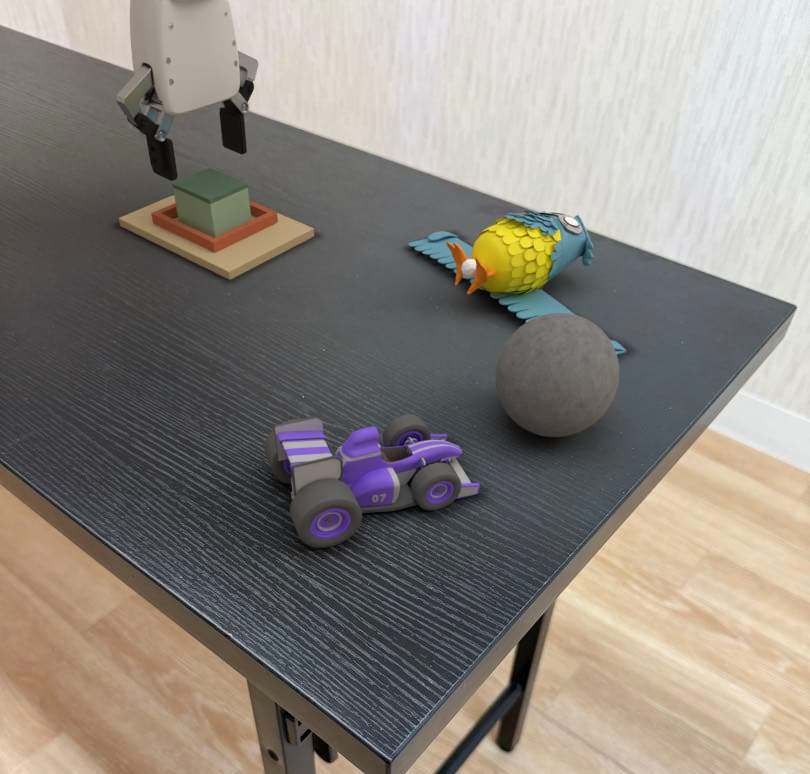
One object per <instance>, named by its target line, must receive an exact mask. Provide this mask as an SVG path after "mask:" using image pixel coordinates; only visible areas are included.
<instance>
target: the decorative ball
mask: <svg viewBox="0 0 810 774" xmlns="http://www.w3.org/2000/svg"><path fill="white" fill-rule="evenodd" d="M574 314H575V313H574ZM574 314H568V313H551V314H546V315H542V316H539V317H537V318H534V317H533V318H534V319H532V320H530V321H528V322H527V323H526V322H525V323H523V324H522V325H521V326H520V327H518V328H517V329H516V330H515V331H514V332H513V333H512V334H511V335H510V336H509V337H508V339H507V340H506V342H505V343H504V345H503V347H502V348H501V351H500V353H499V356H498V357H497V361H496V362H497V363H496V368H495V377H494V379H495V388H496V389H495V390H496V393H497V396H498V400H499V402H500V404H501V406H502V408H503V409H504V411H505V412H506V414H507V415H508V417H509V418H510V419H511V420H512V421H513V422H514V423H516V425H518V426H520V427H521V428H522V429H524V430H525V431H528V432H529V433H532V434H534V435H537V436H540V437H547V438H563V437H570V436H573V435H576V434H578V433H581V432H583V431H584V430H587V429H588V428H590V427H592V426H593V425H594V424H595V423H597V422H598V421H599V420H600V419H602V417H603V416H604V415H605V414H606V412H607V411H608V409H609V408H610V407H611V405H612V404H613V401H614V399H615V397H616V394H617V392H618V391H617V390H618V388H619V383H620V382H619V381H620V364H619V363H620V362H619V358H618V355H616V351H615V349H614V347H613V345H612V343H611V341H610V340H611V339H610V338H609V337H608V335H607V334H606V333H605V332H604V330H602V329H601V327H599V326H598V325H597V324H596V323H594V322H592V321H591V320H589V319H587V318H585V317H583V316H580V315H577V314H575V315H574ZM609 339H610V340H609Z"/></svg>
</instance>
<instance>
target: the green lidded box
mask: <svg viewBox="0 0 810 774" xmlns="http://www.w3.org/2000/svg"><path fill="white" fill-rule="evenodd" d="M171 184H172V185H171V186H172V191H173V195H174V197H175V202H176V208H177V213H178V219H179V222H181V223H183V224H185V225H187V226H190V227H192V228H194V229H196V230H198V231H200V232H202V233H205V234H207V235H209V236H211V237H213V238H215V237H217V236H219V235H221V234H223V233H225V232H227V231H229V230H231V229H234V228H236V227H238V226H240V225H242V224H244V223H246V222H248V221H251V212H250V203H249V200H250V195H249V186H248V185H249V184H248V182H246V181H243V180H240V179H238V178H235V177H233V176H232V175H231V176H230V175H228V174H226V173H224V172H222V171H220V170H216V169H214V168H212V167H208V168H206V169H203V170H200V171H199V172H196V173H194V174H191V175H189V176H185V177H183V178H182V179H179V180H177V181H173V182H171Z"/></svg>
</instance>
